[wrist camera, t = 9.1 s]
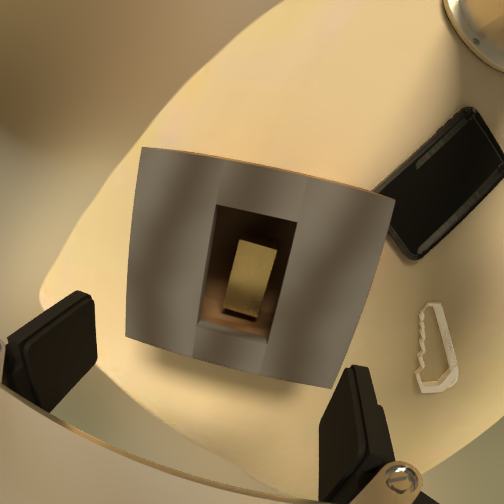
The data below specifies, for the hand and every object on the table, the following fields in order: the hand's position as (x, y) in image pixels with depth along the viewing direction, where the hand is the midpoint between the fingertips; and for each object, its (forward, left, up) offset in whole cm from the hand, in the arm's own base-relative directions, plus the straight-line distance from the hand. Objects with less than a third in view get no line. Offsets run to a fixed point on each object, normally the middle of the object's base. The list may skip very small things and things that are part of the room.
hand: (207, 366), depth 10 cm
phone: (-15, -10, -20) cm, 27 cm away
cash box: (0, 0, -19) cm, 19 cm away
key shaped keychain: (-21, +8, -20) cm, 30 cm away
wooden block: (0, +2, -18) cm, 19 cm away
